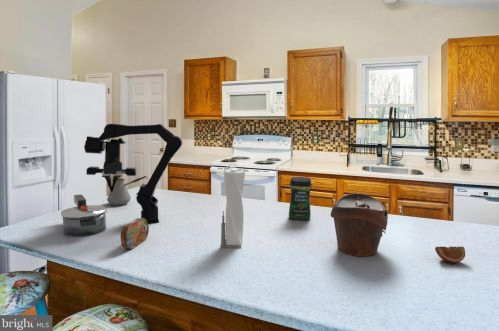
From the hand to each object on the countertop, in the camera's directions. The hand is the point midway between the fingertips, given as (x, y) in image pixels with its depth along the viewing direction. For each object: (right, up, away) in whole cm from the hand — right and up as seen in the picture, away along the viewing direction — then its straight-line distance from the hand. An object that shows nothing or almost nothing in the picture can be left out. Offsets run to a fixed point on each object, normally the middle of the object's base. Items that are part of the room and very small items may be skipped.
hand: (111, 191), depth 143 cm
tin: (+17, -17, -23) cm, 33 cm away
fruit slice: (+119, -19, -36) cm, 126 cm away
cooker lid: (-10, -7, -5) cm, 13 cm away
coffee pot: (-5, -9, +34) cm, 35 cm away
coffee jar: (+80, -13, +10) cm, 81 cm away
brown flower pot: (+94, -18, -27) cm, 99 cm away
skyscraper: (+52, -17, -22) cm, 58 cm away
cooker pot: (-8, -14, -6) cm, 18 cm away
